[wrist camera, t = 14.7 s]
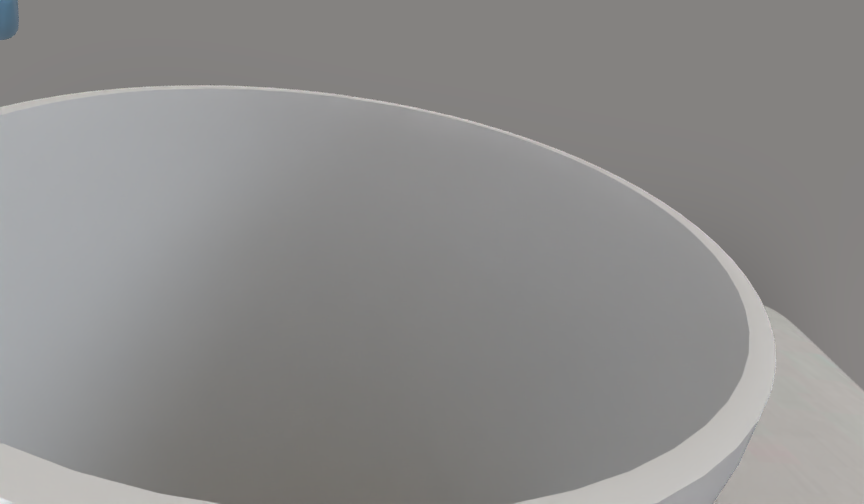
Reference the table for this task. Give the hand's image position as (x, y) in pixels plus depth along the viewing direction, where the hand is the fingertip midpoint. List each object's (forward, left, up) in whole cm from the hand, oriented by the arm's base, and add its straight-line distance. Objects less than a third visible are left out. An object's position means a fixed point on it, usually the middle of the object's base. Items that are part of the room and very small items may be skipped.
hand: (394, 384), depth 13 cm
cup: (+1, -5, -9) cm, 10 cm away
